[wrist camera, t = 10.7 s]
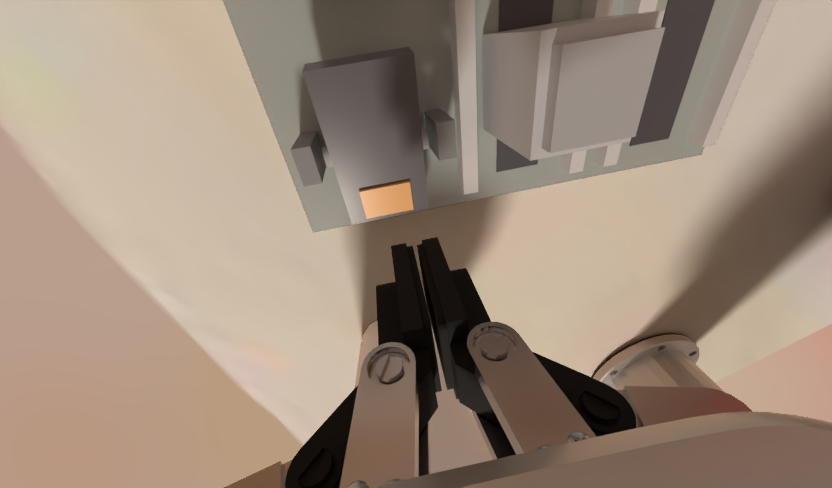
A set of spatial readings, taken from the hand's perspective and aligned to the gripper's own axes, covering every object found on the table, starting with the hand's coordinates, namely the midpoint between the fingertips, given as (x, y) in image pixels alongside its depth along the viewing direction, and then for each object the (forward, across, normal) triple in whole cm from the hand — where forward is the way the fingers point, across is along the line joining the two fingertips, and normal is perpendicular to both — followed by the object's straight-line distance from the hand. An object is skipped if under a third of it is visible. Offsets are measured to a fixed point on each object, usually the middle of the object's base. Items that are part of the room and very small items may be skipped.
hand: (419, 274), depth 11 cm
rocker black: (+5, +1, -4) cm, 6 cm away
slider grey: (+7, -7, -5) cm, 11 cm away
